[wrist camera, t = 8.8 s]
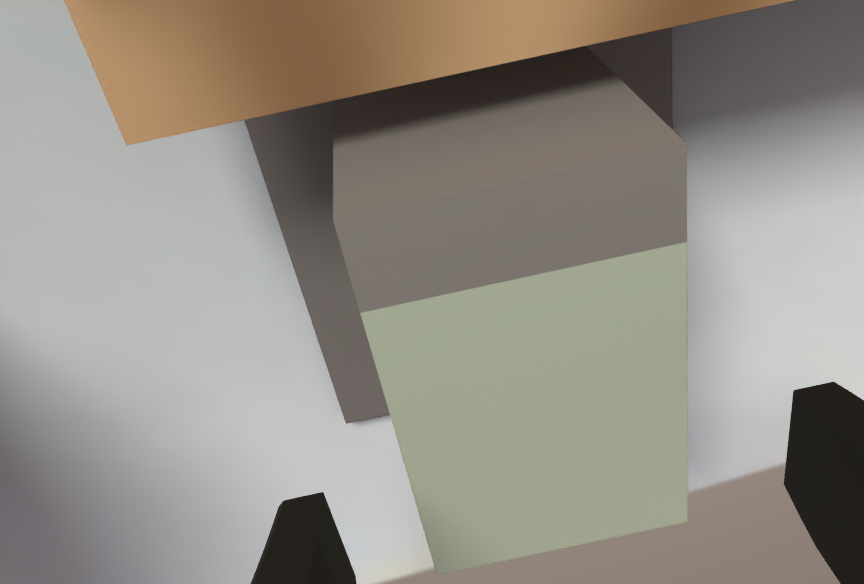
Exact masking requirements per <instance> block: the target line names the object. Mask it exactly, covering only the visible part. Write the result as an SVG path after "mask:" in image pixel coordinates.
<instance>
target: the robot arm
mask: <svg viewBox="0 0 864 584" xmlns="http://www.w3.org/2000/svg"><path fill="white" fill-rule="evenodd" d="M784 485H785V487H786V489H787V491H788V493H789V495H790V497H791V499H792V501H793V503H794V505H795V507H796V509H797V511H798V513H799V515H800V517H801V519H802V521H803V523H804V525H805V527H806V529H807V531H808V532H809V534H810V536H811V538H812V540H813V542H814V544H815V545H816V547H817V549H818V550H819V552H820V553H821V555H822V556H823V558H824V559H825V561H826V562H827V564H828V565H829V567H830V568H831V570H832V571H833V573H834V574H835V576H836V577H837V579H838V580H839V582H840V583H841V584H864V400H862V399H860V398H859V397H857V396H856V395H854V394H853V393H851V392H849V391H848V390H846V389H845V388H843V387H841V386H840V385H838V384H837V383H835V382H830V383H826V384H821V385H816V386H812V387H807V388H802V389H798V390H794V392H793V401H792V411H791V421H790V430H789V440H788V449H787V459H786V469H785V479H784ZM251 584H356V577H355V574H354V571H353V569H352V566H351V564H350V561H349V558H348V556H347V553H346V550H345V548H344V545H343V543H342V540H341V537H340V535H339V532H338V530H337V527H336V524H335V522H334V519H333V517H332V514H331V511H330V509H329V506H328V504H327V501H326V498H325V496H324V493H323V492H322V493H317V494H312V495H308V496H303V497H298V498H294V499H289V500H285V501H283V502H282V504H281V505H280V506H279V507H278V510H277V514H276V517H275V520H274V523H273V526H272V528H271V531H270V534H269V537H268V540H267V543H266V545H265V548H264V551H263V554H262V556H261V559H260V562H259V564H258V567H257V569H256V572H255V574H254V577H253V579H252V582H251Z"/></svg>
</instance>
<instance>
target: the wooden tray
mask: <svg viewBox="0 0 864 584" xmlns="http://www.w3.org/2000/svg"><path fill="white" fill-rule="evenodd" d="M64 1H65V4H66V6H67V8H68V11H69V13H70V15H71V18H72V20H73V22H74V25H75V27H76V29H77V31H78V34H79V36H80V38H81V41H82V43H83V45H84V48H85V50H86V52H87V55H88V57H89V59H90V62H91V64H92V66H93V68H94V71H95V73H96V75H97V78H98V80H99V82H100V85H101V87H102V89H103V92H104V94H105V96H106V99H107V101H108V103H109V106H110V108H111V110H112V112H113V115H114V117H115V119H116V122H117V124H118V126H119V129H120V131H121V133H122V136H123V138H124V140H125V143H126V145H131V144H136V143H140V142H145V141H149V140H154V139H159V138H163V137H168V136H172V135H177V134H182V133H186V132H191V131H195V130H200V129H205V128H209V127H214V126H218V125H223V124H228V123H232V122H237V121H241V120H246V119H251V118H255V117H260V116H264V115H269V114H274V113H278V112H283V111H288V110H292V109H297V108H301V107H306V106H311V105H315V104H320V103H324V102H329V101H334V100H338V99H343V98H347V97H352V96H357V95H361V94H366V93H370V92H375V91H380V90H384V89H389V88H393V87H398V86H403V85H407V84H412V83H416V82H421V81H426V80H430V79H435V78H439V77H444V76H449V75H453V74H458V73H462V72H467V71H472V70H476V69H481V68H486V67H490V66H495V65H499V64H504V63H509V62H513V61H518V60H522V59H527V58H532V57H536V56H541V55H545V54H550V53H555V52H559V51H564V50H568V49H573V48H578V47H582V46H587V45H591V44H596V43H601V42H605V41H610V40H614V39H619V38H624V37H628V36H633V35H637V34H642V33H647V32H651V31H656V30H660V29H665V28H670V27H674V26H679V25H683V24H688V23H693V22H697V21H702V20H707V19H711V18H716V17H720V16H725V15H730V14H734V13H739V12H743V11H748V10H753V9H757V8H762V7H766V6H771V5H776V4H780V3H785V2H789V1H794V0H64Z"/></svg>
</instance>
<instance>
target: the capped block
mask: <svg viewBox="0 0 864 584" xmlns="http://www.w3.org/2000/svg"><path fill="white" fill-rule="evenodd" d="M333 222H334V226H335V229H336V232H337V236H338V239H339V243H340V246H341V249H342V253H343V256H344V260H345V263H346V266H347V270H348V273H349V277H350V280H351V283H352V287H353V290H354V294H355V297H356V301H357V304H358V307H359V311H360V314H361V318H362V321H363V324H364V328H365V331H366V335H367V338H368V341H369V345H370V348H371V352H372V355H373V358H374V362H375V365H376V369H377V372H378V375H379V379H380V382H381V386H382V389H383V393H384V396H385V399H386V403H387V406H388V410H389V413H390V416H391V420H392V423H393V427H394V430H395V433H396V437H397V440H398V444H399V447H400V450H401V454H402V457H403V461H404V464H405V467H406V471H407V474H408V478H409V481H410V485H411V488H412V491H413V495H414V498H415V502H416V505H417V508H418V512H419V515H420V519H421V522H422V525H423V529H424V532H425V536H426V539H427V542H428V546H429V549H430V553H431V556H432V559H433V563H434V566H435V570H436V573H437V575H440V574H444V573H449V572H454V571H458V570H463V569H468V568H472V567H477V566H481V565H487V564H491V563H496V562H500V561H505V560H510V559H515V558H519V557H524V556H529V555H533V554H538V553H543V552H548V551H552V550H557V549H562V548H566V547H571V546H576V545H580V544H585V543H590V542H595V541H599V540H604V539H608V538H613V537H618V536H623V535H627V534H632V533H637V532H641V531H646V530H651V529H656V528H660V527H664V526H670V525H674V524H679V523H684V522H687V214H686V142H684V141H683V140H682V139H681V138H680V137H679V136H678V135H677V134H676V133H675V132H674V131H673V130H672V129H671V128H670V127H669V126H668V125H667V124H666V123H665V122H664V121H663V120H662V119H661V118H660V117H659V116H658V115H657V114H656V113H655V112H654V111H653V110H652V109H651V108H649V107H648V106H647V105H646V104H645V103H644V102H643V101H642V100H641V99H640V98H639V97H638V96H637V95H636V94H635V93H634V92H633V91H632V90H631V89H630V88H629V87H628V86H627V85H626V84H625V83H624V82H623V81H622V80H621V79H620V78H619V77H618V76H617V75H616V74H614V73H613V72H612V71H611V70H610V69H609V68H608V67H607V66H606V65H605V64H604V63H603V62H602V61H601V60H600V59H599V58H598V57H597V56H596V55H595V54H594V53H593V52H592V51H591V50H590V49H589V48H588V47H587V46H582V47H578V48H573V49H568V50H564V51H559V52H555V53H550V54H545V55H541V56H536V57H532V58H527V59H522V60H518V61H513V62H509V63H504V64H499V65H495V66H490V67H486V68H481V69H476V70H472V71H467V72H462V73H458V74H453V75H449V76H444V77H439V78H435V79H430V80H426V81H421V82H416V83H412V84H407V85H403V86H398V87H393V88H389V89H384V90H380V91H375V92H370V93H366V94H361V95H357V96H352V97H347V98H343V99H338V100H334V101H333Z"/></svg>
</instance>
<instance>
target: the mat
mask: <svg viewBox="0 0 864 584" xmlns="http://www.w3.org/2000/svg"><path fill="white" fill-rule="evenodd" d="M587 47H588V48H589V49H590V50H591V51H592V52H593V53H594V54H595V55H596V56H597V57H598V58H599V59H600V60H601V61H602V62H603V63H604V64H605V65H606V66H607V67H608V68H609V69H610V70H611V71H612V72H613V73H614V74H616V75H617V76H618V77H619V78H620V79H621V80H622V81H623V82H624V83H625V84H626V85H627V86H628V87H629V88H630V89H631V90H632V91H633V92H634V93H635V94H636V95H637V96H638V97H639V98H640V99H641V100H642V101H643V102H644V103H645V104H646V105H647V106H648V107H649V108H651V109H652V110H653V111H654V112H655V113H656V114H657V115H658V116H659V117H660V118H661V119H662V120H663V121H664V122H665V123H666V124H667V125H668V126H669V127H670V128H671V129H672V37H671V27H670V28H665V29H660V30H656V31H651V32H647V33H642V34H637V35H633V36H628V37H624V38H619V39H614V40H610V41H605V42H601V43H596V44H591V45H587ZM245 123H246V126H247V129H248V132H249V135H250V138H251V141H252V144H253V147H254V150H255V153H256V156H257V159H258V162H259V165H260V168H261V171H262V174H263V177H264V180H265V183H266V186H267V189H268V192H269V195H270V198H271V201H272V204H273V207H274V210H275V213H276V216H277V219H278V222H279V225H280V228H281V231H282V234H283V237H284V240H285V243H286V246H287V249H288V252H289V255H290V258H291V260H292V263H293V266H294V269H295V272H296V275H297V278H298V281H299V284H300V287H301V290H302V293H303V296H304V299H305V302H306V305H307V308H308V311H309V314H310V317H311V320H312V323H313V326H314V329H315V332H316V335H317V338H318V341H319V344H320V347H321V350H322V353H323V356H324V359H325V362H326V365H327V368H328V371H329V374H330V377H331V380H332V383H333V386H334V389H335V392H336V395H337V398H338V401H339V404H340V407H341V410H342V413H343V416H344V419H345V422H346V423H351V422H356V421H360V420H365V419H370V418H375V417H379V416H384V415H389V414H390V413H389V410H388V406H387V403H386V399H385V396H384V393H383V389H382V386H381V382H380V379H379V375H378V372H377V369H376V365H375V362H374V358H373V355H372V352H371V348H370V345H369V341H368V338H367V335H366V331H365V328H364V324H363V321H362V318H361V314H360V311H359V307H358V304H357V301H356V297H355V294H354V290H353V287H352V283H351V280H350V277H349V273H348V270H347V266H346V263H345V260H344V256H343V253H342V249H341V246H340V243H339V239H338V236H337V232H336V229H335V226H334V222H333V101H329V102H324V103H320V104H315V105H311V106H306V107H301V108H297V109H292V110H288V111H283V112H278V113H274V114H269V115H264V116H260V117H255V118H251V119H246V120H245Z"/></svg>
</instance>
